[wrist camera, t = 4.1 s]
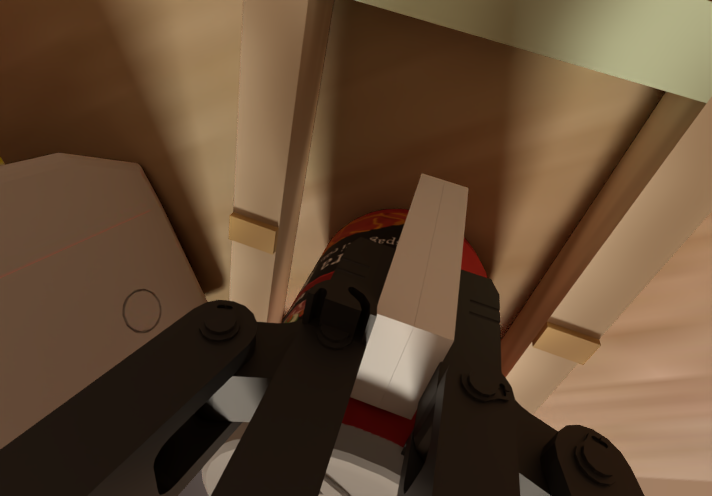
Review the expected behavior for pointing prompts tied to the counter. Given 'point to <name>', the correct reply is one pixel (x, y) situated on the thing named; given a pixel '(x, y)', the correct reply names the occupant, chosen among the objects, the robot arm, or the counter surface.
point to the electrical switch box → (80, 278)
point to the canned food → (361, 420)
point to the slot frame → (597, 227)
